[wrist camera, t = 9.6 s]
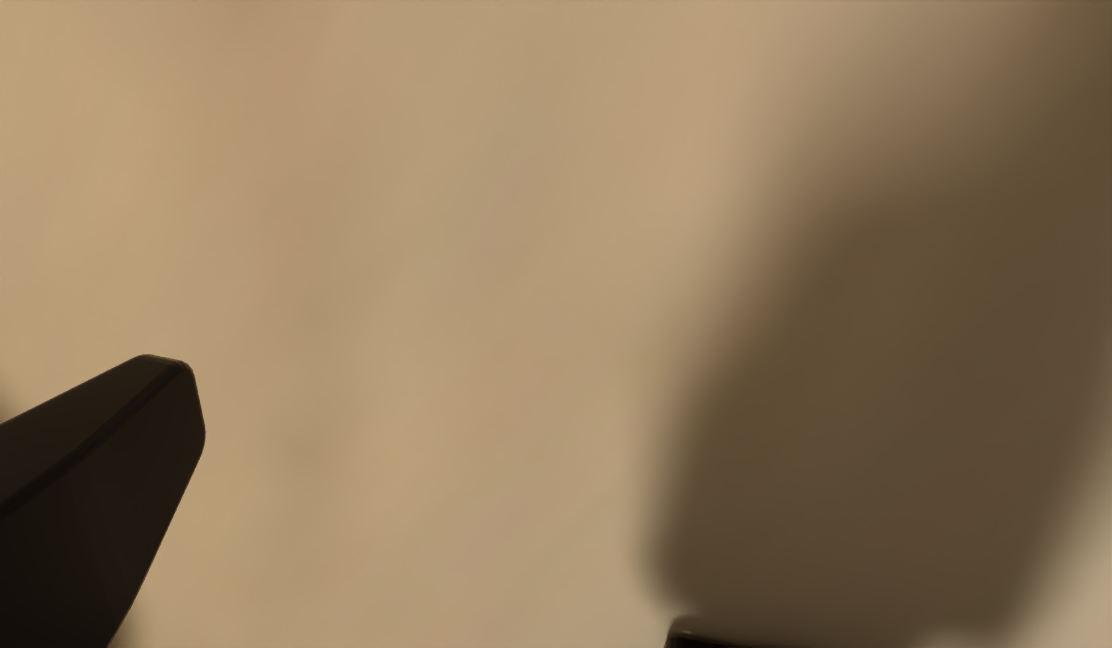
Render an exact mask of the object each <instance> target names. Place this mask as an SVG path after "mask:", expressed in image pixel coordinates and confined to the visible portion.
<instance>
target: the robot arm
mask: <svg viewBox="0 0 1112 648" xmlns="http://www.w3.org/2000/svg"><path fill="white" fill-rule="evenodd" d="M205 433H206V431H205V424H204V419H203V414H202V409H201V404H200V400H199V395H198V390H197V385H196V381H195V376H194V373H193V370H192V369H191V367H190V366H189V365H188V364H187V363H185V362H183V361H180V360H175V359H170V358H165V357H160V356H155V355H151V354H143V355H139V356H137V357H134V358H132V359H130V360H128V361H126V362H124V363H122V364H120V365H118V366H116V367H114V368H112V369H110V370H108V371H106V372H104V373H102V374H100V375H98V376H96V377H94V378H92V379H90V380H88V381H86V382H84V383H82V384H80V385H78V386H76V387H74V388H72V389H70V390H68V391H66V392H64V393H62V394H60V395H58V396H56V397H54V398H52V399H50V400H48V401H46V402H44V403H42V404H40V405H38V406H36V407H34V408H32V409H30V410H28V411H26V412H24V413H22V414H20V415H18V416H16V417H14V418H12V419H10V420H8V421H6V422H4V423H2V424H0V648H107V647H108V646H109V644H110V642H111V641H112V639H113V637H114V636H115V634H116V632H117V631H118V629H119V627H120V625H121V624H122V622H123V620H124V618H125V616H126V615H127V613H128V611H129V609H130V608H131V606H132V604H133V602H134V600H135V598H136V596H137V594H138V592H139V590H140V588H141V586H142V584H143V582H144V580H145V577H146V575H147V573H148V571H149V569H150V567H151V564H152V562H153V560H154V558H155V556H156V553H157V551H158V549H159V547H160V545H161V542H162V540H163V538H164V536H165V534H166V531H167V529H168V527H169V525H170V523H171V521H172V518H173V516H174V514H175V512H176V510H177V507H178V505H179V503H180V501H181V499H182V496H183V494H184V492H185V490H186V488H187V486H188V483H189V481H190V479H191V477H192V475H193V472H194V470H195V468H196V466H197V464H198V461H199V459H200V457H201V454H202V451H203V448H204V444H205ZM664 648H727V647H723V646H718V645H713V644H709V643H704V642H699V641H694V640H690V639H685V638H673V639H670V640H668V641H667V642H666V643H665V646H664Z"/></svg>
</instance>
